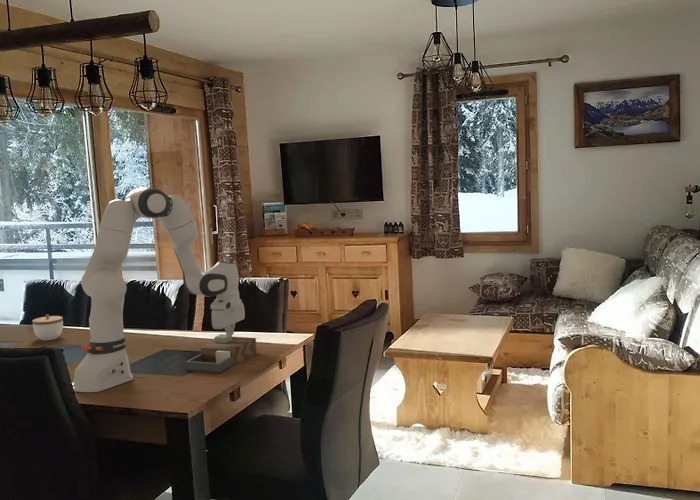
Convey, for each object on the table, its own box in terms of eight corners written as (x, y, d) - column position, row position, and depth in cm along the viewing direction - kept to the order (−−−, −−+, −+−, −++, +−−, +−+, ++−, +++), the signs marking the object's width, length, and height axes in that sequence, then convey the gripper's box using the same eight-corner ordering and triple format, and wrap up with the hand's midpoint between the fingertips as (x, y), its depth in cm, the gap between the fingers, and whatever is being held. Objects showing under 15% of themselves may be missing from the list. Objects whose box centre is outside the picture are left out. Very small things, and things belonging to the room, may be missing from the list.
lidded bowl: (44, 343, 278) (42, 318, 277) (27, 340, 285) (25, 316, 284) (70, 336, 289) (68, 313, 288) (53, 334, 295) (51, 311, 294)
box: (219, 373, 225) (219, 363, 224) (186, 370, 229) (185, 361, 229) (233, 365, 234) (233, 356, 234) (201, 363, 239) (200, 354, 238)
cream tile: (230, 364, 234) (228, 365, 232) (219, 363, 235) (216, 364, 233) (230, 351, 233) (227, 352, 231) (218, 350, 235) (215, 351, 233)
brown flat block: (233, 365, 234) (233, 349, 233) (201, 363, 239) (200, 347, 238) (256, 352, 251) (255, 337, 250) (225, 350, 256) (224, 336, 255)
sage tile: (225, 342, 244) (225, 337, 244) (214, 342, 246) (214, 337, 245) (232, 339, 249) (232, 334, 249) (221, 339, 250) (220, 334, 250)
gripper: (234, 296, 262) (235, 329, 263) (207, 305, 242) (209, 341, 244) (247, 296, 260) (249, 329, 261) (222, 306, 240) (224, 341, 242)
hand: (230, 335), depth 252 cm, fingers closed
